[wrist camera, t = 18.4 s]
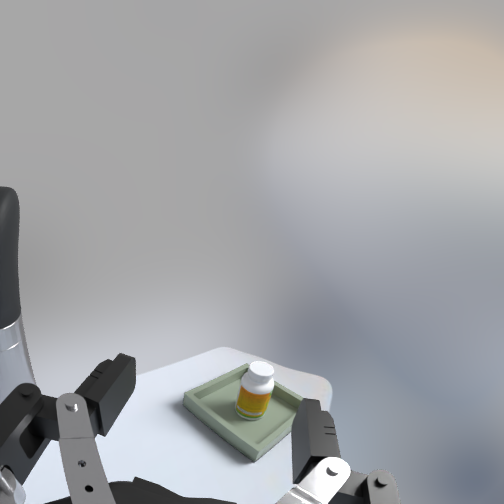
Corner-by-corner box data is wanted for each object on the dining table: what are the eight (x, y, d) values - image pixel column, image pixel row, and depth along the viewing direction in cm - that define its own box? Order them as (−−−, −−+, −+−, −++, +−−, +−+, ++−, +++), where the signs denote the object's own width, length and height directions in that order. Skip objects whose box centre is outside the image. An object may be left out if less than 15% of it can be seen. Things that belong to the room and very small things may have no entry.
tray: (183, 404, 45) (184, 392, 44) (243, 374, 57) (246, 363, 56) (254, 462, 35) (259, 451, 35) (308, 415, 48) (313, 403, 47)
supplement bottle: (267, 421, 44) (282, 379, 41) (235, 420, 43) (246, 377, 40) (262, 400, 49) (275, 359, 47) (233, 399, 48) (243, 356, 46)
